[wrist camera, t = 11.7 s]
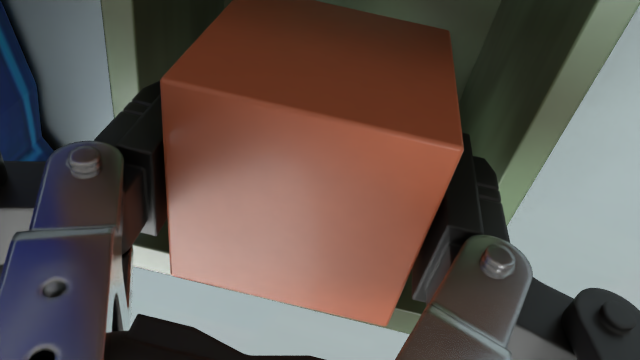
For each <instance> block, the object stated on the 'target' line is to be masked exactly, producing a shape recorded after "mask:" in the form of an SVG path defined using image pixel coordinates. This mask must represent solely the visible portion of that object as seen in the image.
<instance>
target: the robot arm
mask: <svg viewBox="0 0 640 360" xmlns="http://www.w3.org/2000/svg"><path fill="white" fill-rule="evenodd" d="M462 137H463V145H464V151H463V153H462V156H461V158H460V160H459V163H458V165H457V167H456V169H455V172H454V174H453V176H452V179H451V181H450V183H449V186H448V188H447V190H446V192H445V195H444V197H443V199H442V202H441V204H440V206H439V208H438V211H437V213H436V215H435V218H434V220H433V222H432V224H431V227H430V229H429V231H428V234H427V236H426V238H425V241H424V243H423V245H422V247H421V250H420V252H419V254H418V257H417V259H416V261H415V263H414V266H413V268H412V299H413V300H417V301H421V302H425V303H426V308H425V309H424V311H423V313H422V314H421V316H420V318H419V320H418V321H417V323H416V325H415V327H414V328H413V330H412V332H411V333H410V335H409V337H408V339H407V340H406V342H405V344H404V345H403V347H402V349H401V351H400V352H399V354H398V356H397V357H396V359H395V360H640V311H639V310H638V309H637V308H636V307H635V306H634V305H632V304H631V303H630V302H629V301H627V300H626V299H624V298H623V297H621V296H619V295H617V294H615V293H613V292H610V291H607V290H604V289H599V288H588V289H585V290H582V291H581V292H580V293H579V294H578V295H577V296H576V297H575V298H574V299H573V298H571V297H569V296H567V295H565V294H563V293H561V292H559V291H557V290H555V289H553V288H551V287H549V286H547V285H545V284H543V283H542V282H540V281H538V280H537V279H535V278H534V277H533V271H532V268H531V265H530V263H529V261H528V260H527V258H526V257H525V256H524V255H523V253H522V252H521V251H520V250H518V249H517V248H516V247H515V246H513V245H512V244H510V240H509V235H508V230H507V226H506V221H505V216H504V211H503V206H502V203H501V196H500V191H498V189H499V186H498V181H497V176H496V173H495V171H494V170H493V169H492V167H491V166H490V165H489V163H488V162H487V161H486V159H485V158H481V157H477V156H473V154H472V147H471V141H470V135H469V134H467V133H463V132H462ZM166 220H167V200H166V182H165V163H164V145H163V127H162V109H161V90H160V81H158V82H155V83H153V84H151V85H149V86H147V87H144V88H142V90H141V91H140V92H139V93H138V94H137V95H136V96H135V97H134V98H133V99H132V102H129V103H128V104H127V105H126V107H125V108H124V109H123V112H122V111H121V112H120V113H119V114H118V115H117V116H116V117H115V118H114V119H113V120H112V121H111V122H110V124H109V125H108V126H107V127H106V128H105V129H104V130H103V131H102V132H101V133H100V134H99V135H98V136H97V137H96V138H95V139H94V141H80V142H74V143H70V144H67V145H64V146H62V147H60V148H58V149H57V150H55V151H54V152H53V153H52V154H50V156H49V157H48V158H47V161H40V162H37V161H3V158H2V154H1V151H0V360H325V359H321V358H317V357H313V356H251V355H246V354H243V353H241V352H239V351H237V350H235V349H233V348H231V347H230V346H228V345H226V344H224V343H222V342H220V341H218V340H216V339H215V338H213V337H211V336H209V335H207V334H205V333H203V332H201V331H199V330H198V329H196V328H194V327H190V326H186V325H182V324H178V323H174V322H170V321H166V320H162V319H158V318H154V317H149V316H145V315H141V314H138V315H137V316H136V318H135V320H134V322H133V324H132V326H131V303H132V278H133V243H134V241H135V240H136V238H137V237H138V235H139V233H140V232H141V233H145V234H149V235H153V236H157V235H158V233H159V232H160V230H161V228H162V227H163V225H164V223H165V222H166Z"/></svg>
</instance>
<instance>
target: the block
mask: <svg viewBox="0 0 640 360" xmlns="http://www.w3.org/2000/svg"><path fill="white" fill-rule="evenodd" d="M160 90H161V109H162V127H163V145H164V163H165V182H166V200H167V218H168V236H169V255H170V273H171V275H172V276H175V277H179V278H183V279H187V280H191V281H196V282H200V283H204V284H208V285H212V286H217V287H221V288H225V289H229V290H233V291H238V292H242V293H246V294H250V295H254V296H259V297H263V298H267V299H271V300H275V301H280V302H284V303H288V304H292V305H296V306H301V307H305V308H309V309H313V310H317V311H322V312H326V313H330V314H334V315H338V316H343V317H347V318H351V319H355V320H359V321H363V322H368V323H372V324H376V325H380V326H387V325H388V323H389V321H390V319H391V316H392V314H393V312H394V309H395V307H396V305H397V302H398V300H399V298H400V296H401V293H402V291H403V289H404V286H405V284H406V282H407V280H408V277H409V275H410V273H411V270H412V268H413V266H414V263H415V261H416V259H417V257H418V254H419V252H420V250H421V247H422V245H423V243H424V241H425V238H426V236H427V234H428V231H429V229H430V227H431V224H432V222H433V220H434V218H435V215H436V213H437V211H438V208H439V206H440V204H441V202H442V199H443V197H444V195H445V192H446V190H447V188H448V186H449V183H450V181H451V179H452V176H453V174H454V172H455V169H456V167H457V165H458V163H459V160H460V158H461V156H462V153H463V151H464V145H463V137H462V128H461V120H460V112H459V104H458V95H457V87H456V79H455V70H454V62H453V54H452V46H451V37H450V31H448V30H445V29H441V28H436V27H432V26H427V25H423V24H418V23H414V22H409V21H405V20H400V19H396V18H391V17H387V16H382V15H378V14H373V13H369V12H364V11H360V10H355V9H351V8H346V7H342V6H337V5H333V4H328V3H324V2H319V1H315V0H232V1H231V2H230V4H229V5H228V6H227V7H226V8H225V9H224V10H223V11H222V12H221V13H220V14H219V16H218V17H217V18H216V19H215V20H214V21H213V22H212V23H211V24H210V25H209V26H208V28H207V29H206V30H205V31H204V32H203V33H202V34H201V35H200V36H199V37H198V38H197V40H196V41H195V42H194V43H193V44H192V45H191V46H190V47H189V48H188V49H187V50H186V51H185V53H184V54H183V55H182V56H181V57H180V58H179V59H178V60H177V61H176V62H175V63H174V65H173V66H172V67H171V68H170V69H169V70H168V71H167V72H166V73H165V74H164V75H163V77H162V78H161V80H160Z"/></svg>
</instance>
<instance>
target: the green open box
mask: <svg viewBox="0 0 640 360" xmlns="http://www.w3.org/2000/svg"><path fill="white" fill-rule="evenodd" d="M231 1H232V0H101V9H102V17H103V26H104V35H105V44H106V52H107V61H108V70H109V79H110V87H111V96H112V105H113V114H114V118H115V117H116V116H117V115H118V114H119V113H120V112H121V111H122V112H123V109H124V108H125V107H126V105H127V104H128V103H129V102H132V99H133V98H134V97H135V96H136V95H137V94H138V93H139V92H140V91H141V90H142V88H144V87H147V86H149V85H151V84H153V83H155V82H158V81H160V80H161V78H162V77H163V75H164V74H165V73H166V72H167V71H168V70H169V69H170V68H171V67H172V66H173V65H174V63H175V62H176V61H177V60H178V59H179V58H180V57H181V56H182V55H183V54H184V53H185V51H186V50H187V49H188V48H189V47H190V46H191V45H192V44H193V43H194V42H195V41H196V40H197V38H198V37H199V36H200V35H201V34H202V33H203V32H204V31H205V30H206V29H207V28H208V26H209V25H210V24H211V23H212V22H213V21H214V20H215V19H216V18H217V17H218V16H219V14H220V13H221V12H222V11H223V10H224V9H225V8H226V7H227V6H228V5H229V4H230V2H231ZM315 1H319V2H324V3H328V4H333V5H337V6H342V7H346V8H351V9H355V10H360V11H364V12H369V13H373V14H378V15H382V16H387V17H391V18H396V19H400V20H405V21H409V22H414V23H418V24H423V25H427V26H432V27H436V28H441V29H445V30H448V31H450V37H451V46H452V54H453V62H454V70H455V79H456V87H457V95H458V104H459V112H460V120H461V128H462V132H463V133H467V134H469V135H470V141H471V147H472V154H473V156H477V157H481V158H485V159H486V161H487V162H488V163H489V165H490V166H491V167H492V169H493V170H494V171H495V173H496V176H497V181H498V186H499V189H498V191H500V196H501V203H502V206H503V211H504V216H505V221H506V226H507V225H508V223H509V222H510V220H511V218H512V217H513V215H514V213H515V212H516V210H517V208H518V207H519V205H520V203H521V202H522V200H523V198H524V197H525V195H526V193H527V192H528V190H529V188H530V187H531V185H532V183H533V182H534V180H535V178H536V177H537V175H538V173H539V172H540V170H541V168H542V167H543V165H544V163H545V162H546V160H547V158H548V157H549V155H550V153H551V152H552V150H553V148H554V147H555V145H556V143H557V142H558V140H559V138H560V137H561V135H562V133H563V132H564V130H565V128H566V127H567V125H568V123H569V121H570V120H571V118H572V116H573V115H574V113H575V111H576V110H577V108H578V106H579V105H580V103H581V101H582V100H583V98H584V96H585V95H586V93H587V91H588V90H589V88H590V86H591V85H592V83H593V81H594V80H595V78H596V76H597V75H598V73H599V71H600V70H601V68H602V66H603V65H604V63H605V61H606V60H607V58H608V56H609V55H610V53H611V51H612V50H613V48H614V46H615V45H616V43H617V41H618V40H619V38H620V36H621V35H622V33H623V31H624V30H625V28H626V26H627V25H628V23H629V21H630V20H631V18H632V16H633V15H634V13H635V11H636V10H637V8H638V6H639V5H640V0H315ZM133 266H134V267H138V268H142V269H146V270H150V271H154V272H158V273H162V274H166V275H170V276H172V275H171V273H170V255H169V236H168V218H167V220H166V222H165V223H164V225H163V227H162V228H161V230H160V232H159V233H158V235H157V236H153V235H149V234H145V233H141V232H140V233H139V235H138V237H137V238H136V240H135V241H134V243H133ZM174 277H175V276H174ZM195 282H196V281H195ZM199 283H200V282H199ZM203 284H204V283H203ZM207 285H208V284H207ZM211 286H212V285H211ZM215 287H217V286H215ZM219 288H221V287H219ZM223 289H225V288H223ZM228 290H229V289H228ZM232 291H233V290H232ZM236 292H238V291H236ZM240 293H242V292H240ZM244 294H246V293H244ZM248 295H250V294H248ZM252 296H254V295H252ZM256 297H259V296H256ZM260 298H263V297H260ZM264 299H267V298H264ZM268 300H271V299H268ZM272 301H275V300H272ZM277 302H280V301H277ZM281 303H284V302H281ZM285 304H288V303H285ZM289 305H292V304H289ZM293 306H296V305H293ZM297 307H301V306H297ZM301 308H305V307H301ZM425 308H426V303H425V302H421V301H417V300H413V299H412V270H411V273H410V275H409V277H408V280H407V282H406V284H405V286H404V289H403V291H402V293H401V296H400V298H399V300H398V302H397V305H396V307H395V309H394V312H393V314H392V316H391V319H390V321H389V323H388V325H387V326H380V325H376V324H372V323H368V322H363V321H359V320H355V319H351V318H347V317H343V316H338V315H334V314H330V313H326V312H322V311H317V310H313V309H309V308H305V309H309V310H313V311H317V312H321V313H326V314H330V315H334V316H338V317H342V318H346V319H350V320H354V321H358V322H362V323H366V324H370V325H375V326H379V327H383V328H387V329H391V330H395V331H399V332H403V333H407V334H410V333H411V332H412V330H413V328H414V327H415V325H416V323H417V321H418V320H419V318H420V316H421V314H422V313H423V311H424V309H425Z"/></svg>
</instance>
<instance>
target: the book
mask: <svg viewBox="0 0 640 360" xmlns="http://www.w3.org/2000/svg"><path fill="white" fill-rule="evenodd" d="M0 151H1V154H2V158H3V161H37V162H40V161H47V158H48V157H49V156H50V154H52V153H53V152H54V151H53V149H52V148H51V147H50V146H49V145H48V143H47V142H46V141H45V140H44V139H43V137H42V133H41V124H40V114H39V104H38V94H37V85H36V83H35V80H34V78H33V76H32V73H31V71H30V69H29V66H28V64H27V62H26V59H25V57H24V54H23V52H22V50H21V47H20V45H19V43H18V40H17V38H16V36H15V33H14V31H13V28H12V26H11V24H10V21H9V19H8V17H7V14H6V12H5V10H4V7H3V5H2V3H1V0H0Z"/></svg>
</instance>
